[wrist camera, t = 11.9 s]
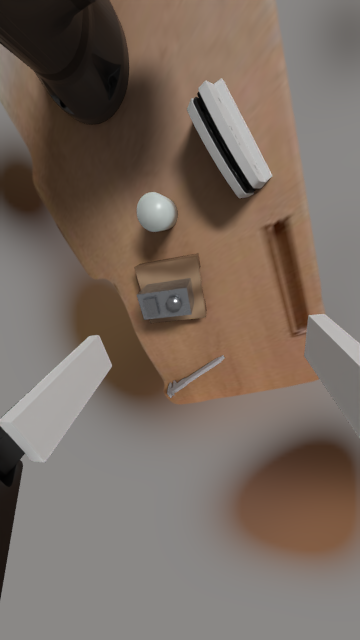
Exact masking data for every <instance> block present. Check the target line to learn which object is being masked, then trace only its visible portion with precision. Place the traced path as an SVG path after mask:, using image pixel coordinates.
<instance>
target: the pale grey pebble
mask: <svg viewBox="0 0 360 640" xmlns="http://www.w3.org/2000/svg"><path fill="white" fill-rule="evenodd" d="M137 217H138V220H139V222H140V224H141V225H142V226H143V227H144V228H145V229H147V230H149V231H152V232H158V231H163V230H168V229H170V228H172V227H173V226H174V225H175V223H176V221H177V218H178V210H177V207H176V205H175V203H174V202H173V201H172V200H170V199H169V198H167V197H165V196H163V195H161V194H159V193H155V192H150V193H147V194H145V195H144V196H142V197H141V199H140V200H139V202H138V205H137Z"/></svg>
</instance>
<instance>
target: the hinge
mask: <svg viewBox="0 0 360 640" xmlns="http://www.w3.org/2000/svg"><path fill="white" fill-rule="evenodd" d="M198 90H199V92H198V93H197V94H198V97H199V98H197V97H195V98H194V99H193V98H192V99H191V101H190V103H189V106H188V108H187V111H188V113H189V115H190V117H191V120H192V122H193V124H194V126H195V128H196V130H197V131H198V133H199V135H200V137H201V139H202V141H203V143H204V144H205V146H206V148H207V150H208V151H209V153H210V155H211V157H212V158H213V160H214V162H215V163H216V165H217V167H218V168H219V170H220V171H221V173H222V175H223V176H224V178H225V179H226V181H227V182H228V184H229V185H230V187H231V188H232V189H233V191H234V192H235V194H236V195H237V196H238V197H239V198H245V197H249V196H251V195H253V194H254V191H255V189H258V188H262V187H263V186H264V184H265V183H266V182H267V181H268V180H269V179H270V178H271V177H272V174H271V172H270V170H269V168H268V166H267V164H266V162H265V160H264V158H263V156H262V154H261V152H260V150H259V148H258V146H257V144H256V142H255V140H254V139H253V137H252V135H251V133H250V131H249V129H248V127H247V125H246V123H245V121H244V119H243V117H242V115H241V113H240V111H239V109H238V107H237V105H236V104H235V102H234V100H233V98H232V96H231V94H230V92H229V90H228V88H227V86H226V84H225V82H224V81H223V79H222V78H221V79H220V80H218V81H217V82H216V83H215V84H212V83H210V82H208V81H205V82H204V83H203V84H202V85H201V86H200V87H199V88H198Z"/></svg>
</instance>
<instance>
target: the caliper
mask: <svg viewBox="0 0 360 640" xmlns="http://www.w3.org/2000/svg"><path fill="white" fill-rule="evenodd" d="M224 358H225V357H224V356H223V355H222V356H221V357H218V358H216V359H214V360H213V361H211V362H210V363H208V364H207V365H205V366H204V367H202V368H201V369H199V370H198V371H196V372H195V373H193V374H192V375H190V376H189V377H187V378H183V379H182V380H180V381H179V382H178V383H177V382H176V381H175V380H174V382H173V387H172V383H171V382H170V383H169V386H168V390H167V394H168V395H169V397H170V398H171V397H172V395H173V396H174V393H176V392H177V391H179V390H180V389H182V388H183V387H185V386H186V385H187V384H188V383H190V382H191V381H193V380H194V379H196V378H197V377H199V376H200V375H202V374H203V373H205V372H207V371H208V370H210V369H211V368H213V367H214V366H216V365H217V364H219V363H220V362H221V361H222V360H223V359H224Z"/></svg>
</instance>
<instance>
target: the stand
mask: <svg viewBox="0 0 360 640" xmlns="http://www.w3.org/2000/svg"><path fill="white" fill-rule="evenodd" d="M134 268H135V272H136V275H137V279H138V282H139V286H140V289H141V290H142V289H143V288H144V287H145V286H146V285H147V284H153V283H160V282H166V281H173V280H180V279H186V278H191V283H192V289H193V295H194V301H195V302H194V306H193V311H192V315H183V316H174V317H164V318H155V319H149V320H150V323H157V322H167V321H176V320H186V319H196V318H205V317H206V311H207V310H206V303H205V300H204V296H203V289H202V282H201V275H200V261H199V254H193V255H187V256H181V257H176V258H170V259H164V260H159V261H153V262H148V263H142V264H139V265H137V266H136V267H134Z"/></svg>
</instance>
